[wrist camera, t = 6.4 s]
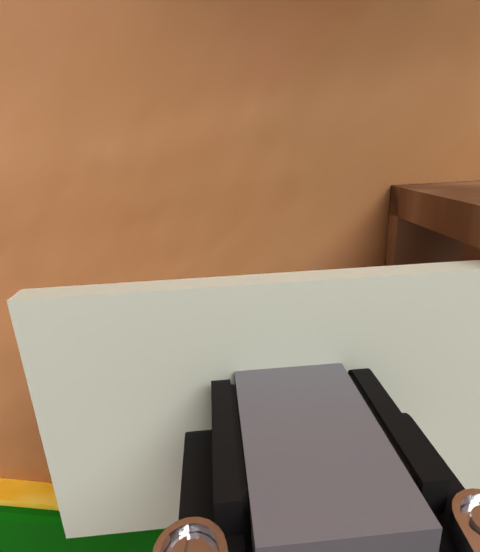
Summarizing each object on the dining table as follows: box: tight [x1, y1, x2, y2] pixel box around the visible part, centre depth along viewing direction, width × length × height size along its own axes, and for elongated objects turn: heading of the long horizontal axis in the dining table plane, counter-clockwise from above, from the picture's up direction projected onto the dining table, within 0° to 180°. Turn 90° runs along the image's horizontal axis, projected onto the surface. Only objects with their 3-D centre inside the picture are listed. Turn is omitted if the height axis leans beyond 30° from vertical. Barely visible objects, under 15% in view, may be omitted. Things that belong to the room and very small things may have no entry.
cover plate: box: [7, 260, 480, 552], centre depth 9 cm, size 14×8×6 cm, turn 92°
